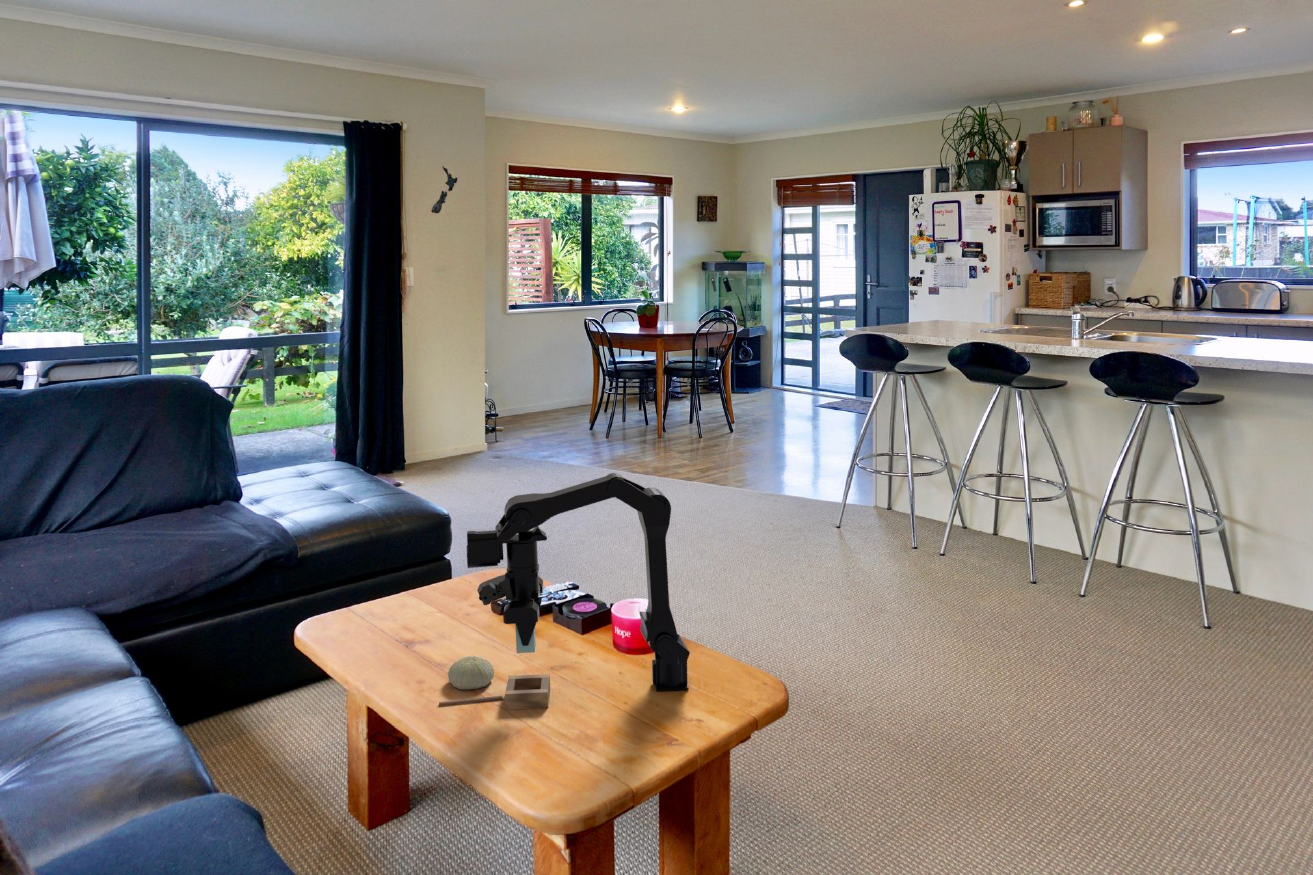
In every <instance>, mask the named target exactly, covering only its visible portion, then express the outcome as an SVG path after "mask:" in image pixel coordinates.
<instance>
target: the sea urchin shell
mask: <svg viewBox="0 0 1313 875" xmlns="http://www.w3.org/2000/svg"><path fill="white" fill-rule="evenodd" d="M494 670H495V669H494V665H493V664H492V663H491V662H490V661H489V660H488V659H485V658H483V657H481V656H480V657H479V656H476V655H474V656H473V655H470V656H465V657H462V658H460V659H459V660H456V661H455V662H454V663H452V665H451V666H450V667H449V669H448V672H447V677H448V681H449V683H450V684H451V685H452V686H453V687H454V688H456V689H458V690H464V691H465V690H469V691H470V690H477V689H480V688H484V687H486V686H488V684H490V683H491V682H492V680H493V678H494V676H495V672H494Z"/></svg>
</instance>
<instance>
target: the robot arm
mask: <svg viewBox="0 0 1313 875" xmlns="http://www.w3.org/2000/svg"><path fill="white" fill-rule="evenodd" d="M613 498H614V499H617V500H619V501H621V502H622V503H624V504H626V505H627V506H629V507H631V509H634V510H636V511H637V516H638V520H639V523H640V526H641V529H642V532H643V537H644V552H645V568H646V569H645V571H646V587H647V602H648V603H647V606H646V610H645V611H642V610H641V611H639V617H640V618H639V619H640V626H639V627H640V628H639V630H640V631H639V632H641V634H642V637H643V639H644V640H645V642H646V643H648V645H649V647H650V650H651V651H652V652H654V659H652V660H651V679H652V680H651V681H652V684H653V685H654V687H655V691H656V692H663V691H664V692H666V691H667V692H669V691H685V690H686V691H687V690H689V689H690V687H689V682H688V659H689V656H690V653H691V651H690V650H689V649H688V647H687V645H686V643H685V642H684V640H683V639H682V637H681V635H680V634H678V632H677V628H676V624H675V620H674V617H673V614H672V611H671V607H670V595H669V594H670V593H669V576H668V559H667V558H668V557H667V541H666V540H667V536H668V535H667V534H668V530H669V529H670V528H669V527H670V522H671V516H672V515H671V514H672V505H671V502H670V500H669V499H668V498H667V497H666V496H665V494H664V493H662V491H661V490H659V489H658V488H656V487H651V486H649V487H644V486H642V485H641V484H639V483H637V482H635V481H632V480H629V479H627V478H625V477H624V476H622V475H621V474H620V473H617V472H612V473H608V474H607V475H605V476H602V477H598V478H594V479H592V480H588V481H585V482H582V483H578V484H575V485H572V486H568V487H565V488H562V489H558V490H556V491H552V492H547V493H546V492H545V493H538V492H537V493H526V494H518V495H514V496H511V497H510V498H509V499H508V500H507V502H506V504H505V505H504V510H503V511H504V514H503V515H502V517H500V520H499V521H498V522H497V524H496V526H495V529H492V530H483V531H482V530H480V531H478V530H467V532H466V562H467V563H466V564H467V569H474V568H475V569H477V568H488V567H489V568H490V567H498V565H499V564H501V561H504V545H505V544H506V546H505V547H506V563H507V564H506V565H507V567H506V572H505V573H504V574H501V575H498V576H495V577H493V578H490V579H488V580H486V581H483V582H481V583H479V585H478V587H477V590H476V591H477V593H478V595H479V596H478V600H479V601H481V602H482V604H483V606H488V605H490V604H492V603H494V602H496V601H498V600H501V599H503V598H505V601H509V602H508V603H507V604H506V605H505V606H504V609H503V612H502V614H503V615H502V616H503V618H502V619H503V624H505V625H515V624H516V627H517V630H518V633H519V636H520V639H521V642H522V645H523V646H528V645H529V642H530V639H531V637H532V634H533V631H534V628H535V629H536V625H537V623H538V622H539V617H540V609H541V605H542V601H543V598H542V597H541V596H540V594H543V593H544V579H543V578H542V577H540V576H539V572H540V564H539V562H538V560H539V559H538V558H539V556H538V542H543V541H547V540H548V536H547V533H546V532H545V531H544V530H542V529H541V527H539V526H541V525H543V524H544V523H546V522H547V521H549V520H550V519H551V518H553V517H556V516H557V515H561V514H563V513H566V512H570V511H573V510H577V509H580V508H584V507H587V506H591V505H593V504H597V503H600V502H603V501H606V500H610V499H613Z"/></svg>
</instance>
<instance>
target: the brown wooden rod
mask: <svg viewBox="0 0 1313 875" xmlns="http://www.w3.org/2000/svg"><path fill="white" fill-rule="evenodd" d="M503 698H504V697H503V695H495V696H493V695H492V696H486V697H485V696H483V697H476V698H475V697H474V698H467V699H466V698H465V699H456V700H455V699H454V700H445V701H439V702H438V706H440V707H442V706H451V705H462V704H469V703H480V702H489V701H498V700H504V699H503Z"/></svg>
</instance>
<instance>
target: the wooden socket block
mask: <svg viewBox="0 0 1313 875" xmlns="http://www.w3.org/2000/svg"><path fill="white" fill-rule="evenodd" d="M506 683H507V684H506V687H505V691H504V705H505V710H506V711H510V710H512V711H515V710H535V709H537V710H538V709H549V704H550V695H551V675H550V673H547V674H544V673H543V674H522V675H508V679H507V682H506Z"/></svg>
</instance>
